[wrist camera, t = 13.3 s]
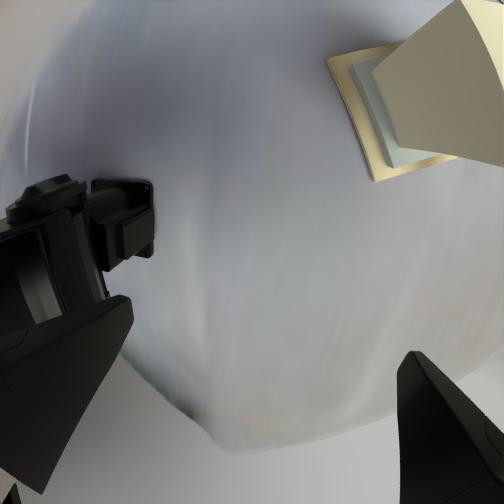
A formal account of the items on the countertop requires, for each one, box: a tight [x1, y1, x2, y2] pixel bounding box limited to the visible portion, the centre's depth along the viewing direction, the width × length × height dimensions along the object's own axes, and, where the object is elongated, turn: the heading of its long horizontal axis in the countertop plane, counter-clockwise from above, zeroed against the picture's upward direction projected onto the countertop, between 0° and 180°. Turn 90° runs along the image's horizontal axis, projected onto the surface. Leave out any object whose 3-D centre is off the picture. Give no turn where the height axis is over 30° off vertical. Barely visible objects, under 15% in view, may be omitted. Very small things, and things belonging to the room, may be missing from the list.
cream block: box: [370, 0, 504, 168], centre depth 8 cm, size 4×5×11 cm
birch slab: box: [326, 43, 459, 182], centre depth 15 cm, size 9×9×2 cm
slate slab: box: [348, 56, 441, 169], centre depth 13 cm, size 7×7×2 cm
